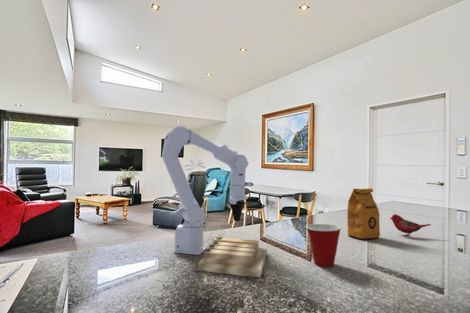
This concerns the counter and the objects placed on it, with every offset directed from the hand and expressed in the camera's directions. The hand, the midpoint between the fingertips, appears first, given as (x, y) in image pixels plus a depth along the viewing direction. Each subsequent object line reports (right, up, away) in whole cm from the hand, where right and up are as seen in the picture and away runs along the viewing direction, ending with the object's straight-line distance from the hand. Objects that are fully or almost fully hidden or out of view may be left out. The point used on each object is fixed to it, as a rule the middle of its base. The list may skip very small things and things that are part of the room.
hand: (237, 220), depth 96 cm
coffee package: (+57, -12, +16) cm, 60 cm away
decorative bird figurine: (+80, -12, +18) cm, 83 cm away
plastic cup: (+27, -9, -18) cm, 34 cm away
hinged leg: (0, -6, -12) cm, 14 cm away
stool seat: (-1, -8, -17) cm, 19 cm away
